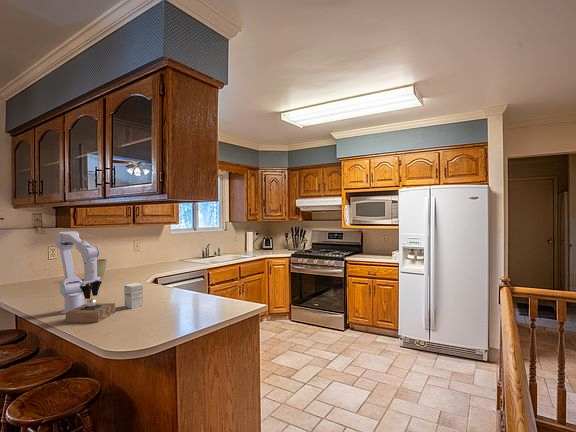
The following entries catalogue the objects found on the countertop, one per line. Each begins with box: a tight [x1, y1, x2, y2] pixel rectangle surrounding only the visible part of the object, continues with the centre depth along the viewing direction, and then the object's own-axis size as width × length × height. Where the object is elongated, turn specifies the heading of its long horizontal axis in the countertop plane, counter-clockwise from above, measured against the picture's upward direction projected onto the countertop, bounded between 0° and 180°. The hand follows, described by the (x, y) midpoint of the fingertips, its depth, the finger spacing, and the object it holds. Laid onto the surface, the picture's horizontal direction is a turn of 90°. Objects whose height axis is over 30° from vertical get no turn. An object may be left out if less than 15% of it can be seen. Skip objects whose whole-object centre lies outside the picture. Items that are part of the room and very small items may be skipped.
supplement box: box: [124, 282, 144, 310], centre depth 189 cm, size 7×7×13 cm
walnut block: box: [65, 302, 116, 324], centre depth 170 cm, size 16×16×6 cm
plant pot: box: [97, 258, 108, 281], centre depth 269 cm, size 15×15×16 cm
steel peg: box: [86, 298, 97, 308], centre depth 170 cm, size 4×4×5 cm
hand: (91, 297), depth 170 cm, fingers open, 6 cm apart
